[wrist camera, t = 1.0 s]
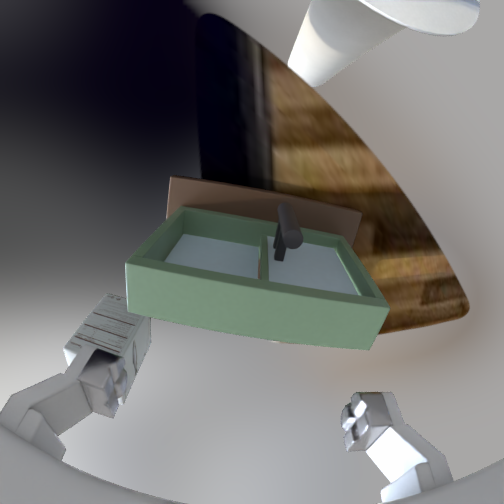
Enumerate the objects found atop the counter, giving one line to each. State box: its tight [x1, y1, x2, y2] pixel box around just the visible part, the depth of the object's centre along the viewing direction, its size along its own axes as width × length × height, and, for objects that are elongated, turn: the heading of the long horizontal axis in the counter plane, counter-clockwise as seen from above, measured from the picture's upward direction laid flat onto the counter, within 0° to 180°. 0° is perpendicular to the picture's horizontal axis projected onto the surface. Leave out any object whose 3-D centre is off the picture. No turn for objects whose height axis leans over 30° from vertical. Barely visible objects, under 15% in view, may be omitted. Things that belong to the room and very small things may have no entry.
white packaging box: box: [63, 293, 151, 405], centre depth 32 cm, size 7×7×13 cm
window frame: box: [125, 175, 390, 350], centre depth 25 cm, size 10×21×15 cm, turn 80°
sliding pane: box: [260, 203, 358, 295], centre depth 24 cm, size 5×8×11 cm, turn 80°
